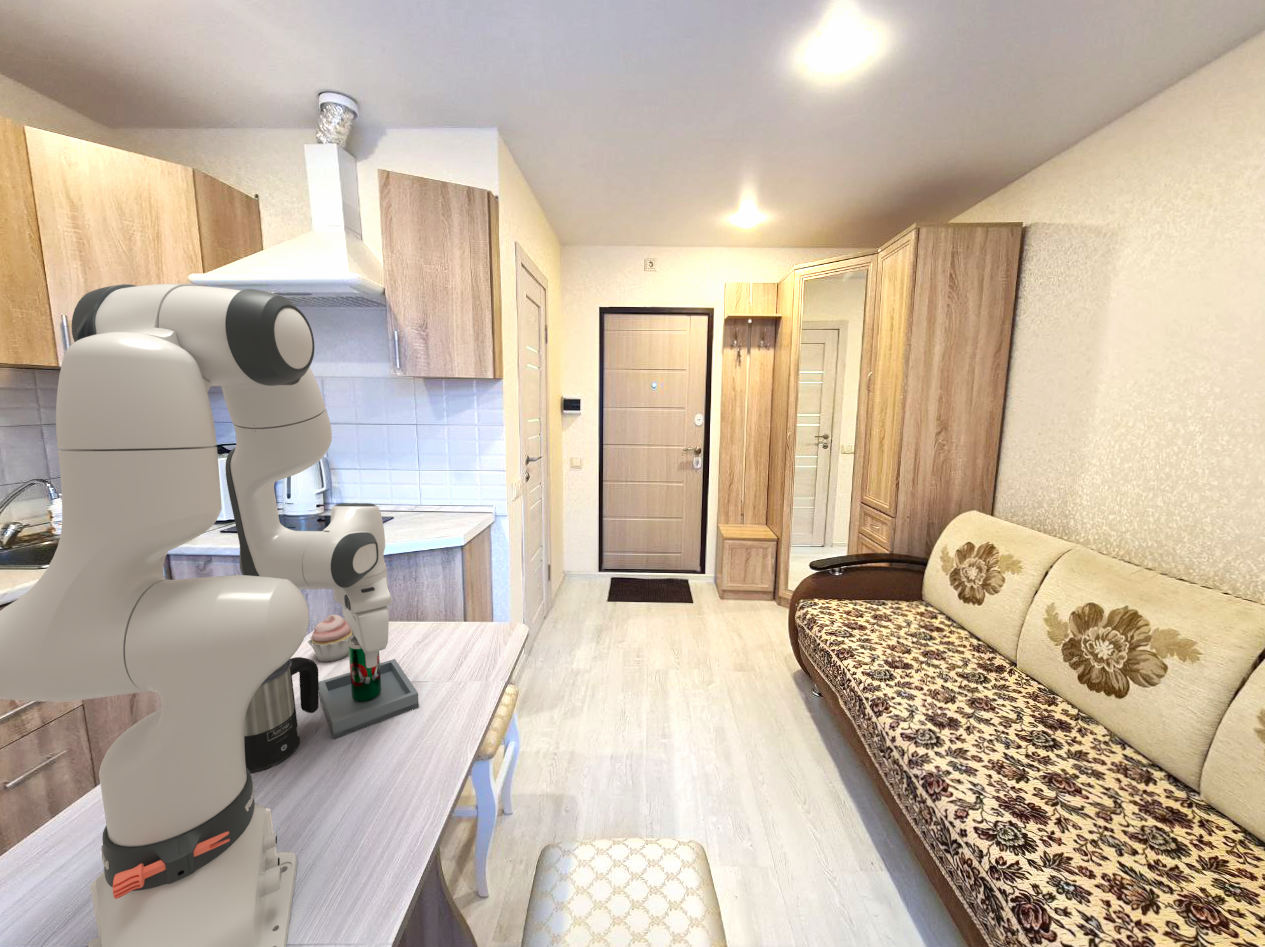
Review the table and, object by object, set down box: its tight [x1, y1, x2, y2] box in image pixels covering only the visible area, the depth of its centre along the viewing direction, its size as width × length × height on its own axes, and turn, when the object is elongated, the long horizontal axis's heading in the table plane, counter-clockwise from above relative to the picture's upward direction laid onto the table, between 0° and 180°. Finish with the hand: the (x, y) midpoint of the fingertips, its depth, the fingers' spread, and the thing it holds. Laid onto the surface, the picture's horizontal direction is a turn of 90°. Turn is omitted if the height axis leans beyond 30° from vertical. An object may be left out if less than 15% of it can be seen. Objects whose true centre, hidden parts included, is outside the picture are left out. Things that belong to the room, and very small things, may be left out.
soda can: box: [348, 636, 381, 702], centre depth 92 cm, size 5×5×12 cm
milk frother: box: [244, 656, 320, 773], centre depth 80 cm, size 14×16×15 cm
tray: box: [319, 658, 420, 740], centre depth 93 cm, size 16×14×3 cm
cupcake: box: [307, 614, 353, 663], centre depth 109 cm, size 9×9×10 cm
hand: (365, 655), depth 91 cm, fingers open, 8 cm apart
